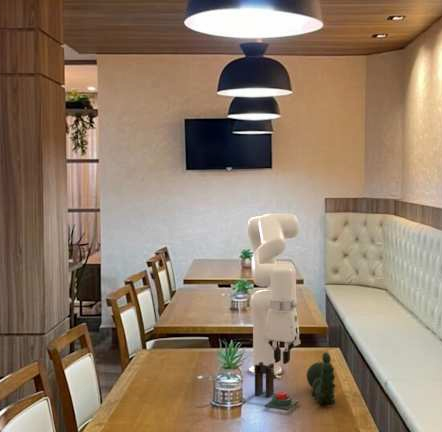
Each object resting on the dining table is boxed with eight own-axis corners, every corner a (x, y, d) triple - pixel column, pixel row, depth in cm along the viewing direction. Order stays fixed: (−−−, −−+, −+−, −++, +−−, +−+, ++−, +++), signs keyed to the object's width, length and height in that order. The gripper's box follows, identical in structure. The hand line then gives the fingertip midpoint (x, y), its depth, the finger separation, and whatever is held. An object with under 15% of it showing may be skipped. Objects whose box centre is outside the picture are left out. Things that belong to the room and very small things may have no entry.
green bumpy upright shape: (342, 415, 212) (330, 385, 237) (343, 359, 210) (331, 333, 234) (312, 416, 212) (304, 385, 237) (313, 359, 209) (304, 334, 234)
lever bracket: (259, 392, 231) (259, 358, 230) (283, 395, 227) (283, 361, 226) (244, 402, 220) (244, 367, 219) (269, 406, 216) (269, 370, 216)
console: (276, 402, 220) (276, 391, 220) (298, 405, 217) (298, 395, 216) (264, 410, 212) (264, 399, 212) (287, 414, 208) (287, 403, 208)
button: (279, 396, 216) (279, 391, 216) (288, 397, 215) (288, 392, 215) (275, 399, 213) (275, 394, 213) (284, 400, 212) (284, 395, 212)
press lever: (268, 380, 232) (269, 373, 233) (281, 382, 230) (282, 375, 231) (255, 371, 223) (256, 364, 223) (268, 372, 220) (270, 365, 221)
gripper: (309, 305, 213) (309, 362, 213) (264, 301, 219) (264, 356, 220) (300, 309, 206) (300, 368, 207) (254, 305, 213) (254, 362, 214)
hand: (281, 361), depth 213 cm, fingers closed
